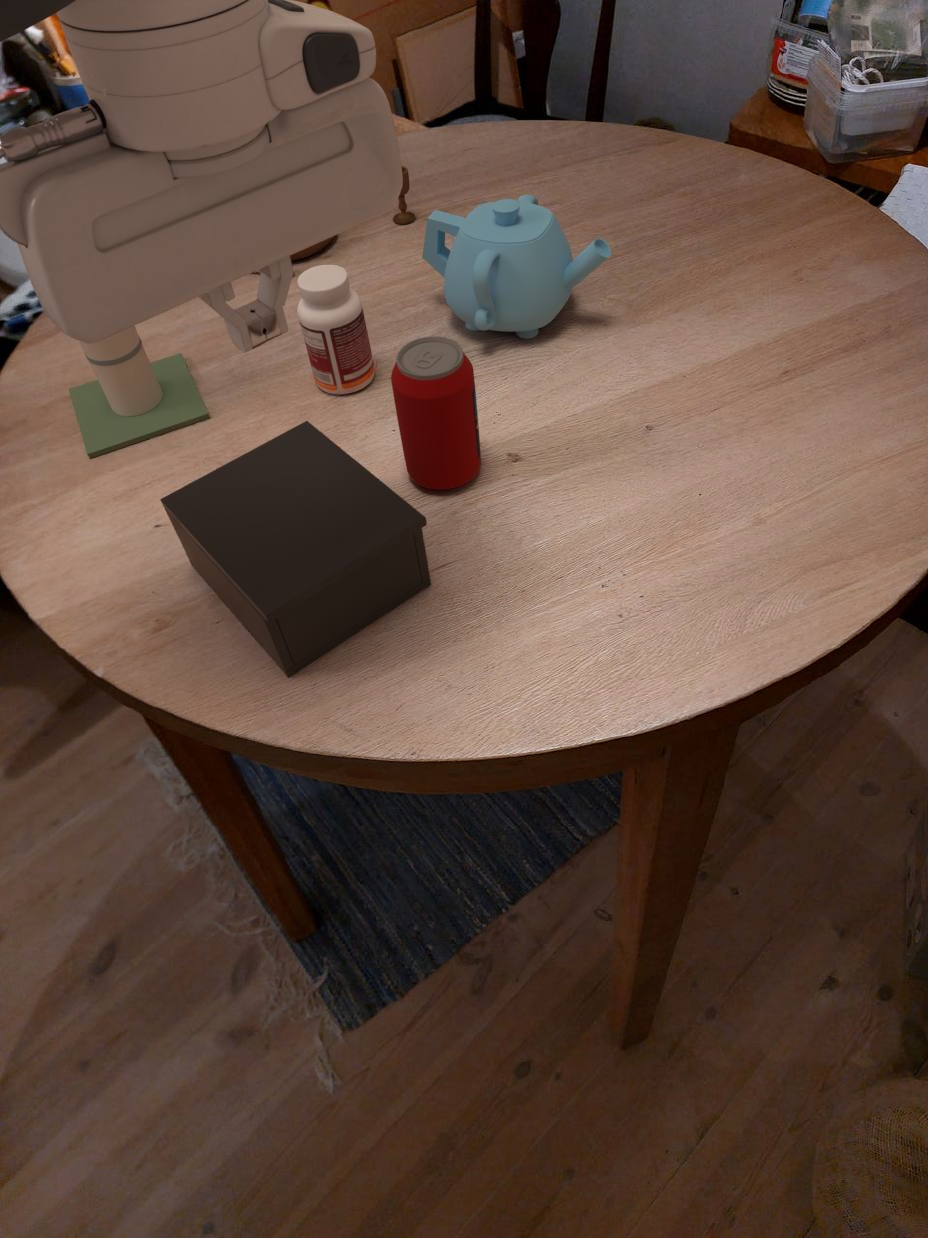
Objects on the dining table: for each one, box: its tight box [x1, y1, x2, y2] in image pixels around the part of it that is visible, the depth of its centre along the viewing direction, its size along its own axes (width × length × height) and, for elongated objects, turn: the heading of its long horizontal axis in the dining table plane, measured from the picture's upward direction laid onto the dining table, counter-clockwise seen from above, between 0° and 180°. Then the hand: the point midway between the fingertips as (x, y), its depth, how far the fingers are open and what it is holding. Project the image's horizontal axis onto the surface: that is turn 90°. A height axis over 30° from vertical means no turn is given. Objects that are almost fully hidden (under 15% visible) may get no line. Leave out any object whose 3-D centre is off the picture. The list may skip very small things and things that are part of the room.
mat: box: [68, 352, 211, 459], centre depth 88 cm, size 12×12×1 cm
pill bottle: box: [296, 264, 376, 395], centre depth 84 cm, size 6×6×11 cm
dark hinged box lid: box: [159, 420, 428, 623], centre depth 66 cm, size 16×14×1 cm
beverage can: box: [390, 336, 482, 490], centre depth 74 cm, size 7×7×12 cm
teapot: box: [421, 194, 612, 339], centre depth 89 cm, size 20×17×12 cm
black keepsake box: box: [164, 508, 432, 678], centre depth 69 cm, size 16×14×7 cm
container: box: [78, 325, 163, 416], centre depth 84 cm, size 5×5×9 cm
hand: (260, 338), depth 50 cm, fingers closed
